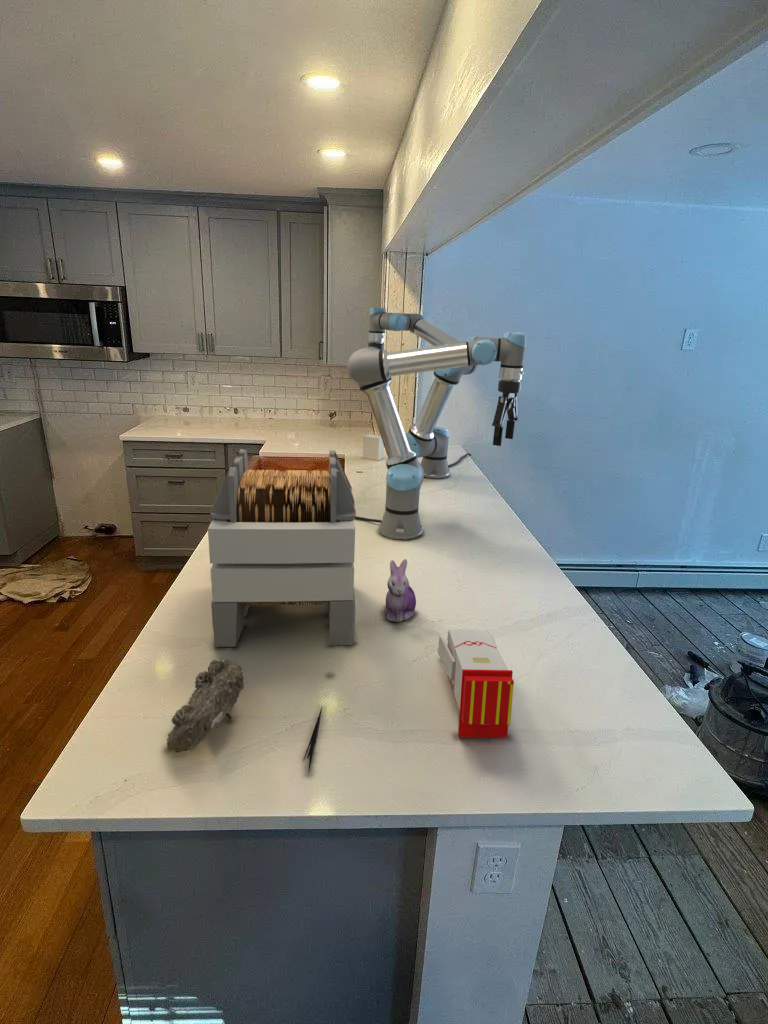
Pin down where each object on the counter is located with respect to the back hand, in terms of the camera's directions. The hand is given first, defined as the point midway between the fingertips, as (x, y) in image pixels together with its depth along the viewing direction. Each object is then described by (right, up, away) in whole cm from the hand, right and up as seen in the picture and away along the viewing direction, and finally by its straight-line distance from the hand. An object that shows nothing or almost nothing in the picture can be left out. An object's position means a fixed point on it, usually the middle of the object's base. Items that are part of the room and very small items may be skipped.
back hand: (374, 388), depth 271 cm
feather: (-8, -99, -163) cm, 191 cm away
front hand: (+46, -35, -72) cm, 93 cm away
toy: (+22, -97, -153) cm, 182 cm away
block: (-1, -31, +28) cm, 41 cm away
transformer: (-20, -85, -125) cm, 152 cm away
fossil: (-28, -98, -163) cm, 193 cm away
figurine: (+9, -86, -124) cm, 151 cm away
